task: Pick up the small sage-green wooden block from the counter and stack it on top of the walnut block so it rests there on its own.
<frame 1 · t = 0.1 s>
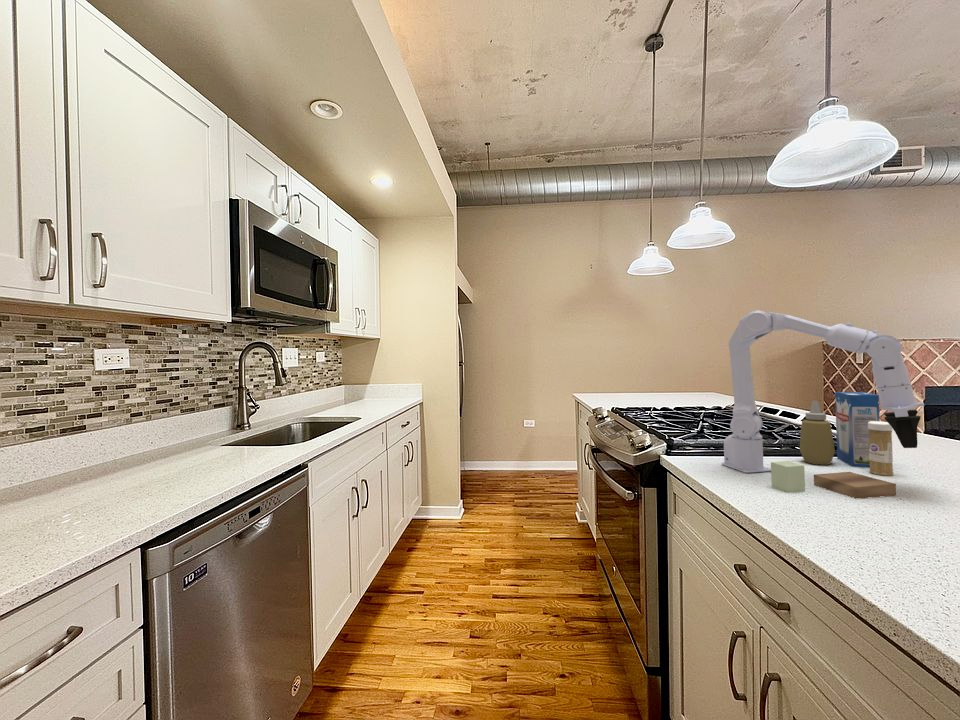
hand: (909, 444, 93), 11 cm above the worktop, tool pointing down, fingers open, 7 cm apart
squeeze bottle: (817, 463, 118), on the worktop
sprinkles bottle: (881, 474, 106), on the worktop
sage block: (788, 488, 97), on the worktop
walnut block: (853, 491, 95), on the worktop
milk carton: (858, 463, 117), on the worktop
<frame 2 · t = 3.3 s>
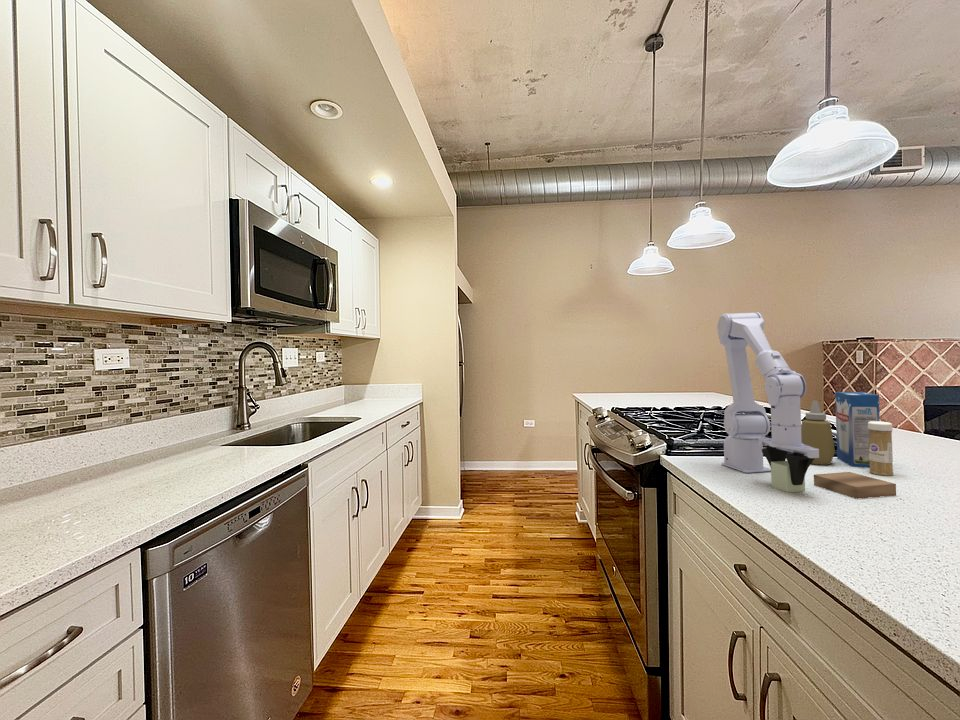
hand: (787, 481, 97), 2 cm above the worktop, tool pointing down, fingers closed on sage block, 4 cm apart
sage block: (788, 488, 97), on the worktop, touching gripper
everything else where it was.
when the fingers open (6 cm above the worktop, at t = 8.2 s): sage block drops 1 cm, resting on walnut block.
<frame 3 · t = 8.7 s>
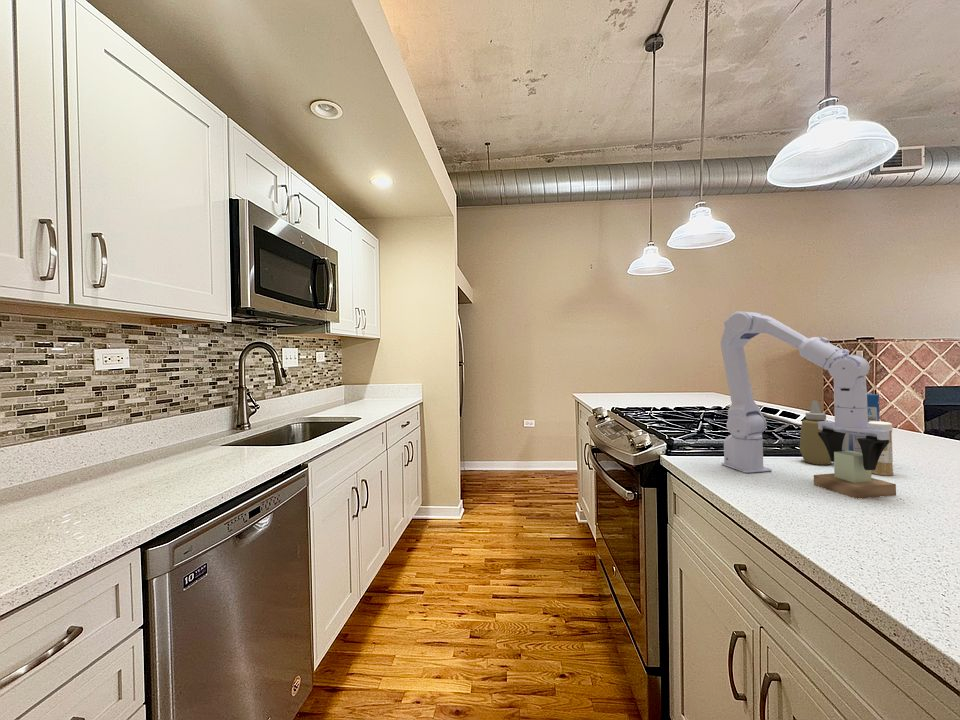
hand: (852, 465, 95), 6 cm above the worktop, tool pointing down, fingers open, 7 cm apart
sage block: (852, 479, 95), point 2 cm above the worktop, touching walnut block
walnut block: (853, 492, 95), on the worktop, touching sage block
everything else where it was.
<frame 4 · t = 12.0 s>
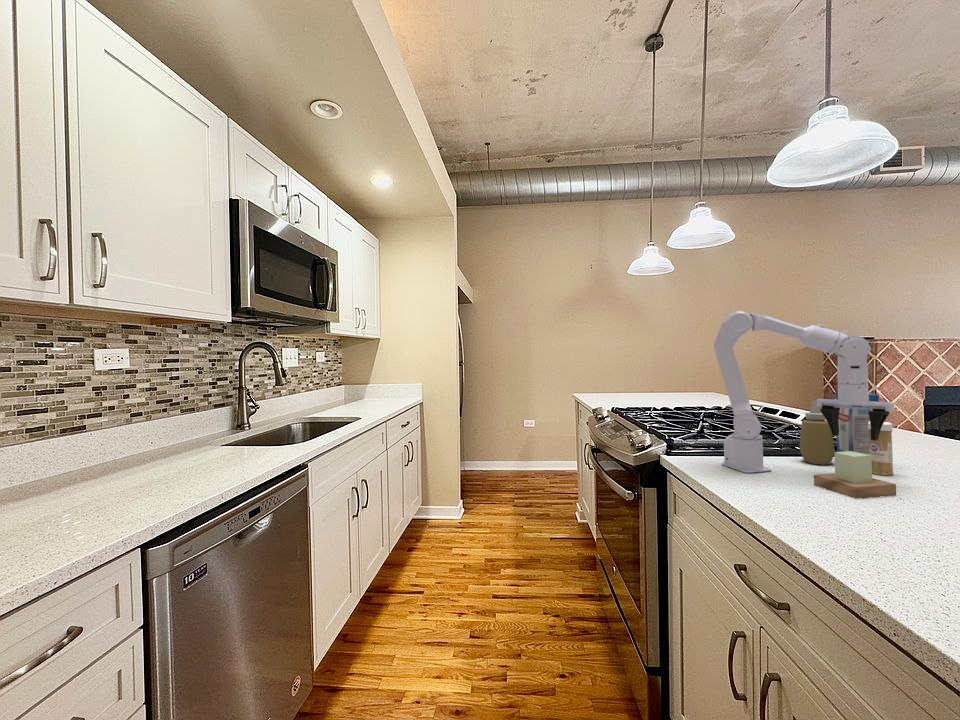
hand: (854, 437, 103), 10 cm above the worktop, tool pointing down, fingers open, 7 cm apart
nothing on the worktop moved.
at the end: sage block 0.2 cm off-centre on the walnut block, point 3.0 cm above the walnut block's base; sage block tilted 1°; the gripper is holding nothing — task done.
